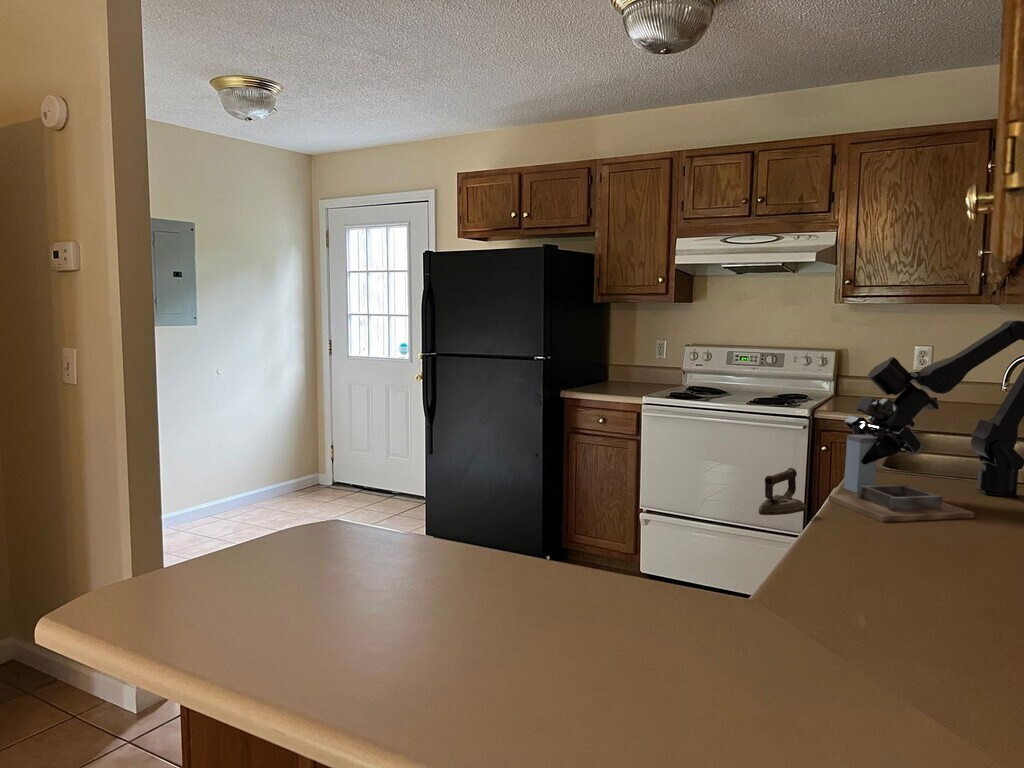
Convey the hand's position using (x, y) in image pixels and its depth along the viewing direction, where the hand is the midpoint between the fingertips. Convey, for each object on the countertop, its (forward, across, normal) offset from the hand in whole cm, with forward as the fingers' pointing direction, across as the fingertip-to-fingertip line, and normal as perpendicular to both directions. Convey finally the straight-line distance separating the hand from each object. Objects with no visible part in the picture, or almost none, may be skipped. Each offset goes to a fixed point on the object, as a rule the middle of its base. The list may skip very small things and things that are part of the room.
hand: (855, 460), depth 160 cm
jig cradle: (+5, +15, +4) cm, 16 cm away
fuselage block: (+4, 0, +6) cm, 7 cm away
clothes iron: (+24, +12, -14) cm, 30 cm away
